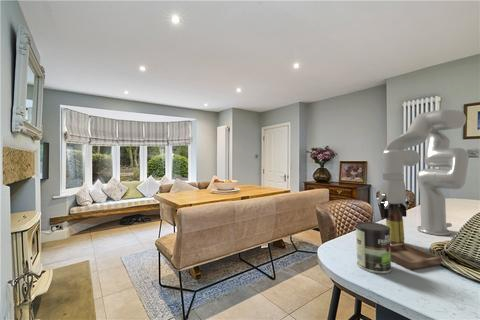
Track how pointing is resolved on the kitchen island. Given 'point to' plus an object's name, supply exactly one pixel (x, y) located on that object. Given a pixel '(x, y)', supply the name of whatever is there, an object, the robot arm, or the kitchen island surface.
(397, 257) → the tray
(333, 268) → the kitchen island surface
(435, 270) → the kitchen island surface
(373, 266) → the coffee can
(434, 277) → the kitchen island surface
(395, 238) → the sauce bottle
